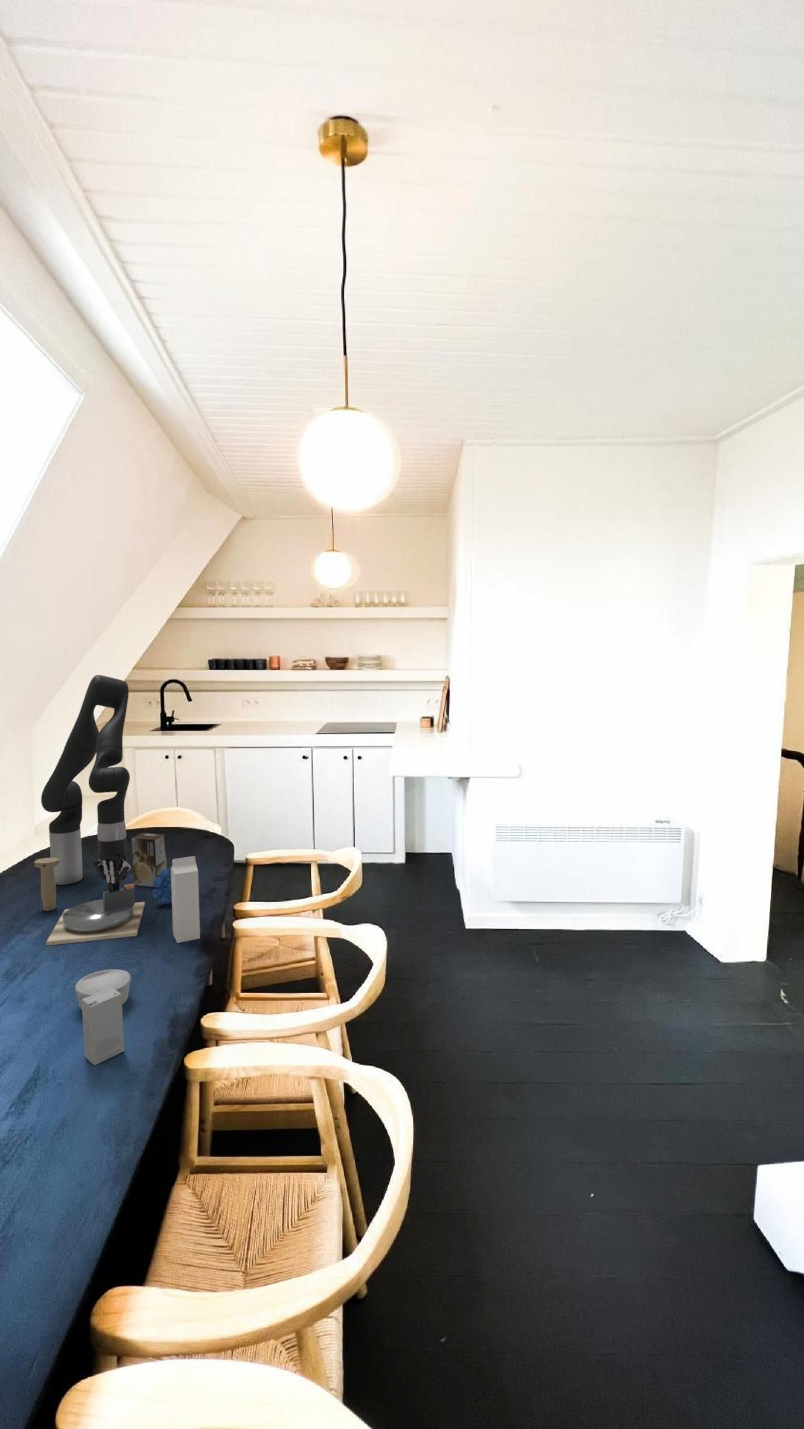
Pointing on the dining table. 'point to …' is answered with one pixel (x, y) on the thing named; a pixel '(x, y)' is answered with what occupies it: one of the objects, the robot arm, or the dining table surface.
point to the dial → (102, 912)
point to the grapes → (163, 887)
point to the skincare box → (103, 1025)
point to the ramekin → (103, 984)
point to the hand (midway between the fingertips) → (114, 894)
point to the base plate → (126, 930)
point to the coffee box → (148, 858)
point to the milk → (185, 899)
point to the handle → (47, 882)
